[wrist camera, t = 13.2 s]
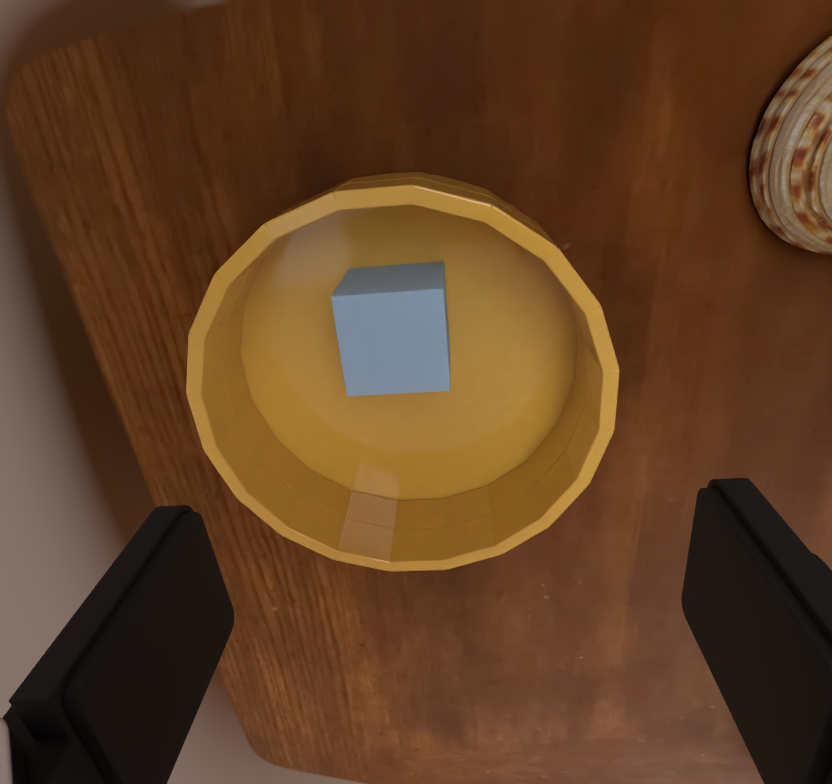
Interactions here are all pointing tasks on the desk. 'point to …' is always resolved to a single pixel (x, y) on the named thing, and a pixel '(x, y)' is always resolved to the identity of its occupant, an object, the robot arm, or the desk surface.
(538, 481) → the bowl
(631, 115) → the desk surface
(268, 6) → the desk surface
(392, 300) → the toy blue
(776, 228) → the seashell
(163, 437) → the desk surface
